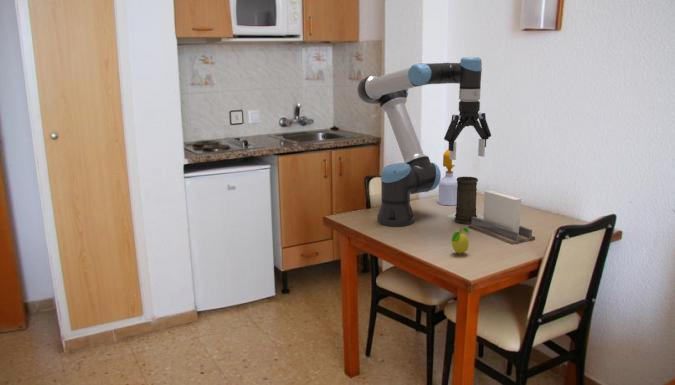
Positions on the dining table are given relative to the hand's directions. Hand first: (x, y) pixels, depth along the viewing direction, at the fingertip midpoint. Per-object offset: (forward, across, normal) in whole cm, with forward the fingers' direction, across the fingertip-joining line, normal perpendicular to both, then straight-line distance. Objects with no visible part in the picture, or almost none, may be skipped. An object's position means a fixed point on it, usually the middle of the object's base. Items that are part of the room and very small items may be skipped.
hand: (467, 157), depth 209 cm
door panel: (+28, +10, -9) cm, 31 cm away
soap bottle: (+29, +21, +37) cm, 51 cm away
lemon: (+29, -18, -20) cm, 39 cm away
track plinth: (+28, +10, -9) cm, 32 cm away
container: (+29, +9, +10) cm, 32 cm away
